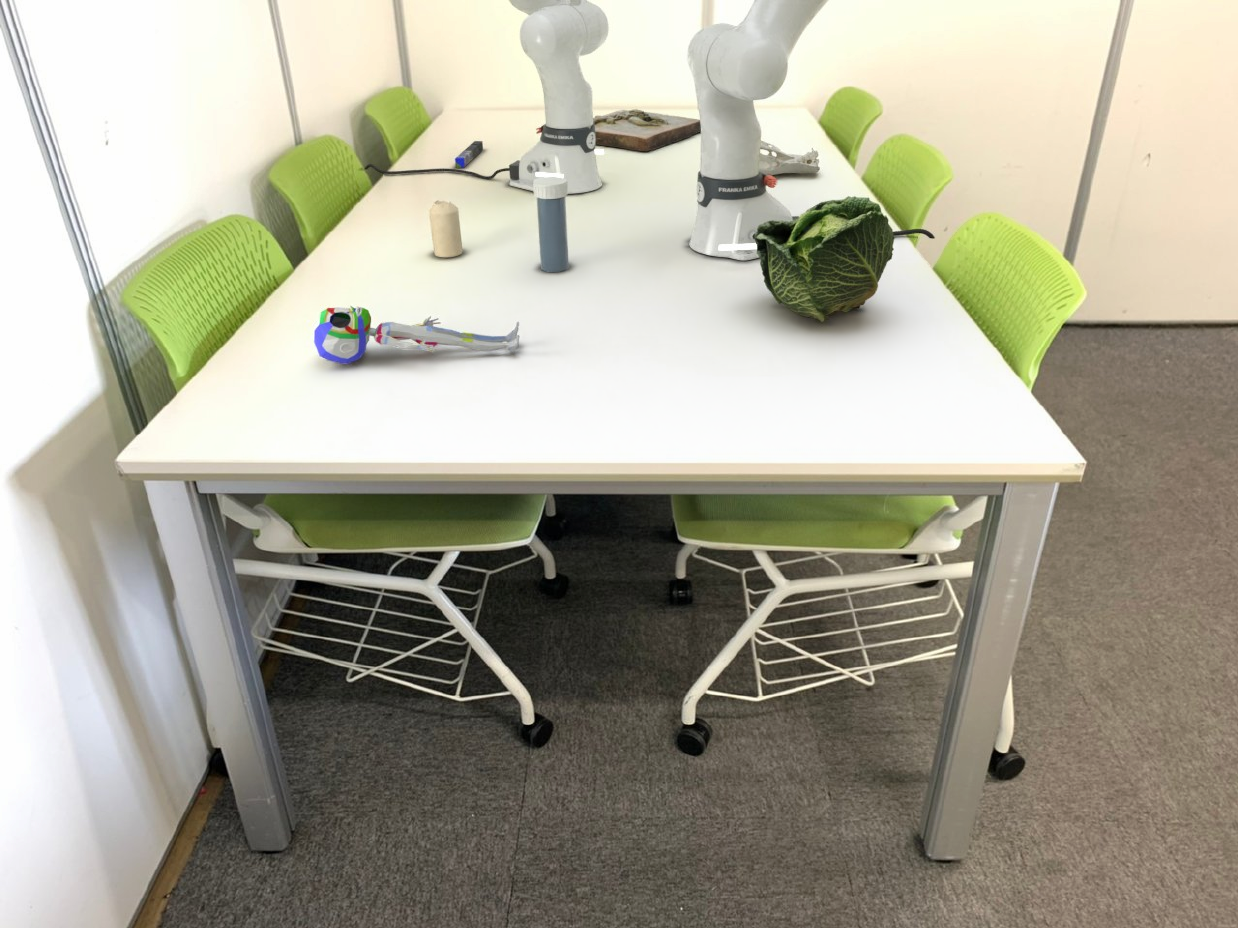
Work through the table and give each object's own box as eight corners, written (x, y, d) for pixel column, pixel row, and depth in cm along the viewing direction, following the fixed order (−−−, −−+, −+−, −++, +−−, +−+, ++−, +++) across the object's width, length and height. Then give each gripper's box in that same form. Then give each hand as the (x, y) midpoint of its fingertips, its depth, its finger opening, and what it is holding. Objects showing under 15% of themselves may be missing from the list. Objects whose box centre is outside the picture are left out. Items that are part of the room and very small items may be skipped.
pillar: (482, 141, 246) (462, 159, 229) (483, 149, 247) (463, 167, 230) (474, 141, 246) (454, 159, 230) (475, 149, 247) (455, 167, 231)
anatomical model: (720, 129, 225) (821, 128, 221) (719, 166, 230) (818, 165, 226) (716, 143, 213) (823, 142, 209) (716, 182, 218) (820, 182, 214)
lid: (541, 188, 164) (541, 175, 162) (572, 191, 162) (572, 177, 161) (528, 197, 159) (527, 184, 158) (560, 200, 157) (559, 186, 156)
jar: (547, 261, 170) (542, 178, 162) (572, 264, 169) (569, 180, 161) (536, 270, 166) (531, 186, 158) (562, 273, 165) (558, 188, 157)
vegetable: (781, 336, 156) (729, 236, 148) (870, 275, 157) (823, 172, 149) (838, 357, 138) (781, 244, 130) (938, 287, 139) (888, 171, 131)
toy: (520, 333, 130) (306, 316, 126) (516, 385, 135) (309, 370, 130) (519, 307, 139) (319, 289, 134) (515, 356, 143) (321, 341, 139)
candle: (467, 249, 176) (462, 199, 171) (454, 259, 172) (448, 207, 167) (442, 247, 178) (436, 196, 172) (429, 256, 173) (422, 204, 168)
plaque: (647, 125, 237) (559, 112, 252) (647, 153, 241) (560, 139, 256) (706, 107, 258) (622, 97, 273) (705, 133, 262) (622, 121, 277)
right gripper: (602, -101, 128) (604, 8, 135) (564, -100, 144) (568, -4, 152) (559, -100, 126) (564, 10, 134) (526, -99, 143) (532, -2, 150)
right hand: (566, 2), depth 143 cm, fingers open, 8 cm apart
